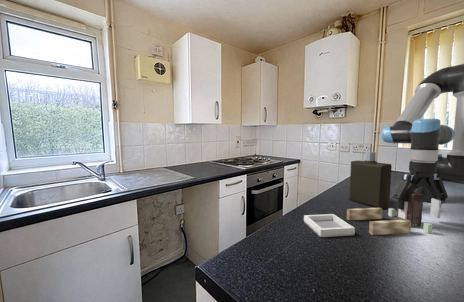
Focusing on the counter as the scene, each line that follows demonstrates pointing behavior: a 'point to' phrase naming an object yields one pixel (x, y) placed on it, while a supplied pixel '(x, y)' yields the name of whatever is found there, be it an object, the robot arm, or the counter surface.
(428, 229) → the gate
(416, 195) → the box
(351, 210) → the channel
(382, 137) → the robot arm
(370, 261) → the counter surface
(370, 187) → the bottle
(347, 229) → the tray
